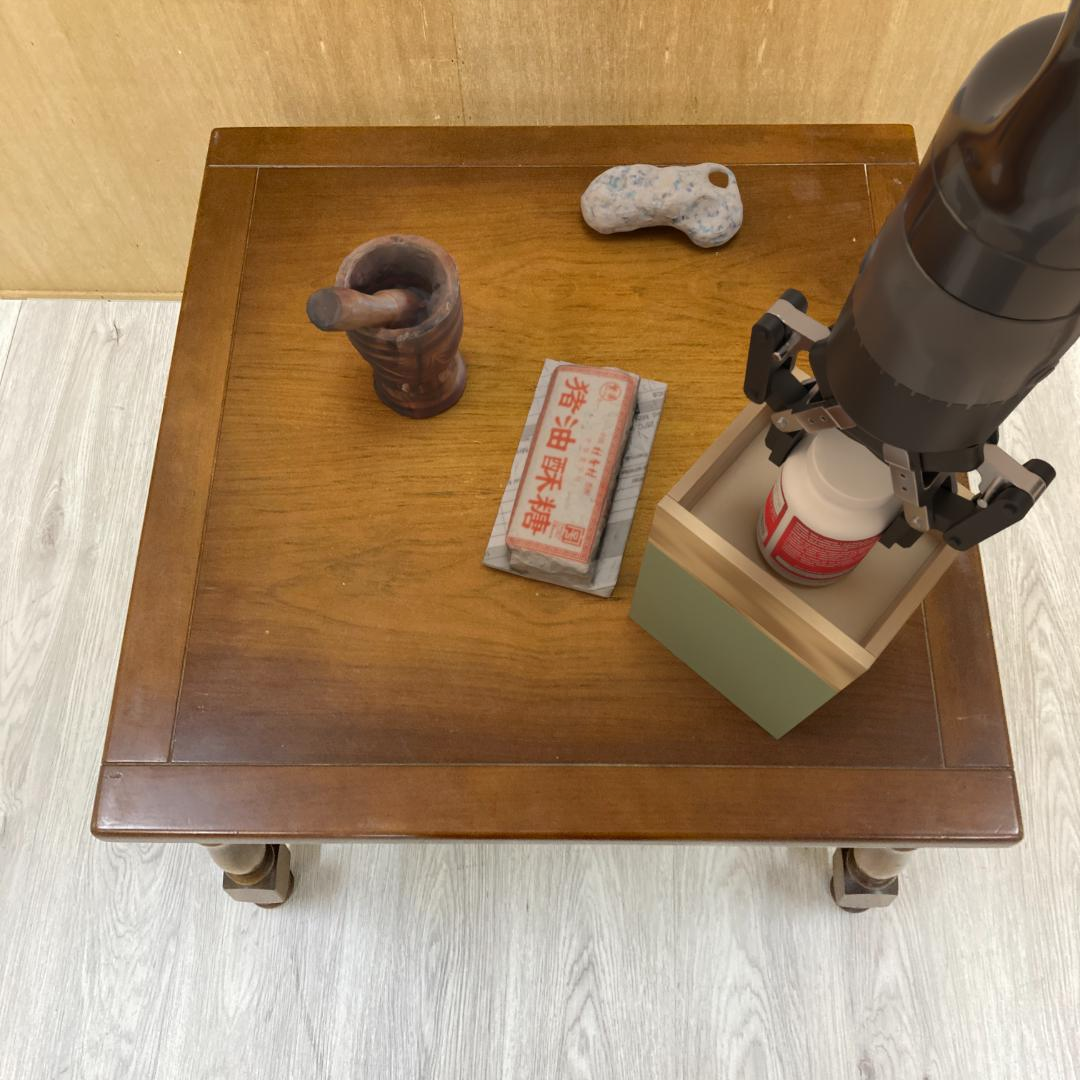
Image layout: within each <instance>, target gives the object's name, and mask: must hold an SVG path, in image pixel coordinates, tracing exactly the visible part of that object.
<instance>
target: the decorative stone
mask: <svg viewBox="0 0 1080 1080" xmlns="http://www.w3.org/2000/svg"><path fill="white" fill-rule="evenodd" d="M714 172H719V173H723V174H724V175H726V176H727V177H728V178H727V181H728V183H727V186H726V187H725V188H724V187H720V186H717V185H715V184H713V183H712V182H711V181H710V179H709V175H711V174H712V173H714ZM741 199H742V197H741V193H740V191H739V186H738V183H737V179H736V176H735V174H734V172H733V171H732V170H730V169H729V168H728V167H726V166H725V165H723V164H721V163H715V162H703V163H699V164H695V165H686V166H683V165H670V166H665V167H658V166H656V165H652V164H646V163H635V164H631V165H618V166H613V167H611V168H609V169H606V170H605V171H604V172H602V173H601V174H599V175H598V176H596V177H595V178H594V179H593V180H591V182H590V183H589V185H588V187H587V188H586V190H585V191H584V192H583V193H582V195H581V197H580V208H581V214H582V217H583V220H584V221H585V223H586V224H587V225H588V226H589V227H590V228H592V229H593V230H594V231H596V232H597V233H599V234H603V235H610V234H614V233H620V232H621V233H623V232H624V233H625V232H632V231H634V230H638V229H641V228H647V227H648V228H649V227H656V226H657V227H658V226H665V227H666V226H667V227H673V228H674V229H677V230H679V231H681V232H683V233H684V234H686V235H687V237H688V238H689V239H690V240H691V242H692V243H693V244H695V245H696V246H698V247H701V248H705V249H707V248H713V247H720V246H723V244H726V243H727V242H728V241H730V239H731V238H733V237H734V236H735V235H736V234H737V232H738V231H739V230H740V228H741V226H742V224H743V220H744V216H743V215H744V205H743V201H742V200H741Z"/></svg>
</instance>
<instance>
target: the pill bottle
mask: <svg viewBox="0 0 1080 1080" xmlns="http://www.w3.org/2000/svg"><path fill="white" fill-rule="evenodd" d="M902 508H903V501H902V500H900V499H898V498H895V496H894V491H893V485H892V479H891V472H890V467H889V466H887V465H886V464H885V463H883V462H882V461H880V460H879V459H878V458H877V457H876V456H875V455H874V454H873V453H871V452H870V451H869V450H868V449H867V448H866V447H865V446H863V445H862V444H860V443H858V442H856V441H854V440H852V439H850V438H849V437H847V436H846V435H844V434H843V433H842V432H840V431H839V430H838V429H836V428H832V429H828V430H823V431H819V432H814V433H809V434H807V435H806V436H804V437H803V438H802V439H801V440H800V441H798V442H797V444H796V445H795V446H794V447H793V448H792V450H791V451H790V453H789V455H788V456H787V458H786V460H785V462H784V465H783V466H782V469H781V471H780V473H779V475H778V477H777V479H776V481H775V483H774V485H773V487H772V489H771V491H770V493H769V495H768V497H767V499H766V501H765V503H764V505H763V508H762V510H761V512H760V515H759V518H758V522H757V540H758V544H759V548H760V550H761V552H762V554H763V556H764V558H765V559H766V561H767V562H768V564H769V565H770V566H771V567H772V568H773V569H774V570H775V571H776V572H778V573H779V574H780V575H782V576H783V577H785V578H786V579H788V580H790V581H793V582H796V583H799V584H803V585H811V586H820V585H826V584H831V583H834V582H836V581H838V580H840V579H842V578H844V577H845V576H847V575H848V574H849V573H851V572H852V571H853V570H854V569H855V568H856V566H857V565H858V564H859V563H860V562H861V561H862V559H863V558H864V557H865V556H866V555H867V553H868V552H869V551H870V550H871V549H872V547H873V546H874V545H875V544H876V543H877V541H878V540H879V539H880V538H881V536H882V535H883V534H884V533H885V532H886V530H887V529H888V528H889V527H890V526H891V524H892V523H893V522H894V521H895V520H896V518H897V517H898V515H899V514H900V512H901V510H902Z"/></svg>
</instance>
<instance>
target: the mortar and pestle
mask: <svg viewBox="0 0 1080 1080" xmlns="http://www.w3.org/2000/svg"><path fill="white" fill-rule="evenodd" d="M337 271H338V272H337V273H336V274H335V277H334V279H335V281H334V284H333V286H324V287H322V288H320V289H317V290H316V291H314V292H313V293H311V294H310V295H309V296H308V299H306V303H305V306H306V307H305V311H306V315H307V317H308V319H309V322H310V323H311V324H312V325H313V326H314V327H316V328H317V329H318V330H320V331H321V332H327V333H332V332H333V333H336V332H337V333H341V332H342V333H343V332H345V334H346V336H347V338H348V340H349V341H350V343H351V345H352V346H353V348H354V349H355V350H356V351H357V352H358V354H359V355H360V356H361V358H362V359H363V360H364V361H366V362H367V363H368V364H369V366H370V368H372V369H373V374H372V377H373V380H372V385H373V386H372V387H373V389H374V391H375V393H376V396H377V397H378V398H379V400H380V401H381V402H382V403H383V404H384V405H385V406H386V407H388V408H389V409H391V410H392V411H393V412H395V413H397V414H399V415H402V416H405V417H408V418H412V419H426V418H430V417H433V416H436V415H439V414H441V413H442V412H445V411H446V410H448V409H449V408H451V407H452V406H454V404H456V403H457V402H458V401H459V399H460V398H461V396H462V395H463V393H464V390H465V387H466V384H467V364H466V360H465V358H464V357H463V355H462V353H461V351H460V350H459V347H460V343H461V339H462V337H463V333H464V321H465V317H464V307H463V300H462V297H463V296H462V291H461V282H460V276H459V275H460V274H459V270H458V264H457V261H456V260H455V258H454V257H453V255H451V254H450V253H449V252H447V250H446V249H445V248H444V247H442V246H441V245H440V244H439V243H437V242H435V240H433V239H430V238H427V237H425V236H421V235H418V234H414V233H411V234H403V233H392V234H387V235H383V236H377V237H374V238H372V239H369V240H367V241H366V242H364V243H362V244H360V245H358V246H356V247H355V248H354V249H353V250H352V251H351V252H350V253H349V254H348V255H347V256H345V258H344V259H343V260H342V262H341V264H340V266H339V268H338V270H337Z"/></svg>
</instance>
